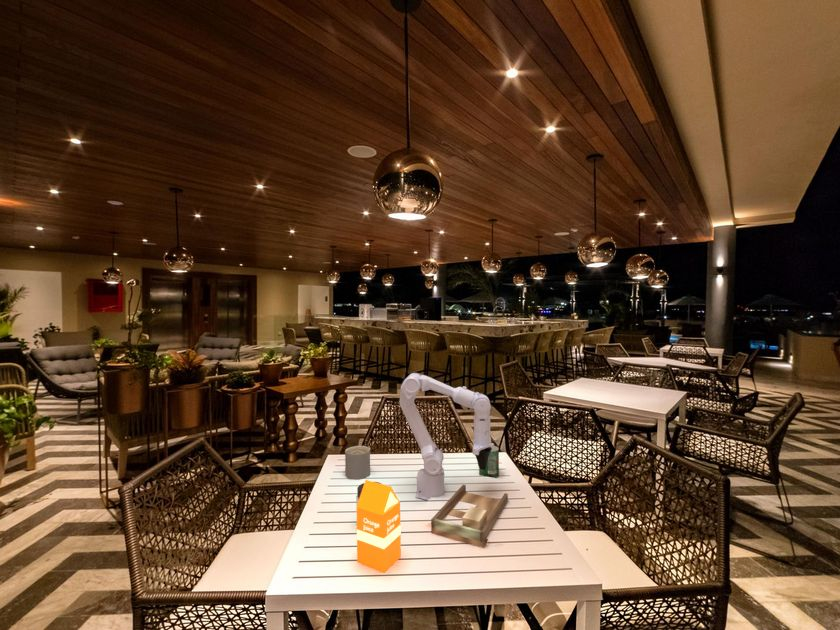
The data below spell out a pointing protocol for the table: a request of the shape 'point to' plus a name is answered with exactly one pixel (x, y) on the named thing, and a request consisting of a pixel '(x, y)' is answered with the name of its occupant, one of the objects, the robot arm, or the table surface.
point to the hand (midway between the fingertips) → (482, 468)
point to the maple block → (475, 518)
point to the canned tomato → (492, 464)
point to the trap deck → (460, 531)
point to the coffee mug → (357, 462)
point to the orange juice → (378, 527)
